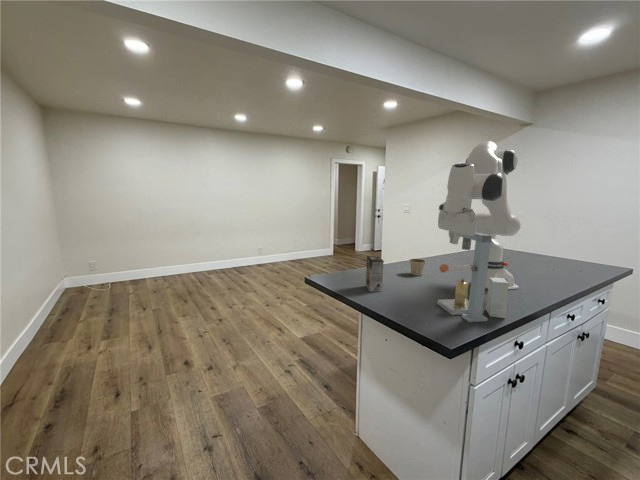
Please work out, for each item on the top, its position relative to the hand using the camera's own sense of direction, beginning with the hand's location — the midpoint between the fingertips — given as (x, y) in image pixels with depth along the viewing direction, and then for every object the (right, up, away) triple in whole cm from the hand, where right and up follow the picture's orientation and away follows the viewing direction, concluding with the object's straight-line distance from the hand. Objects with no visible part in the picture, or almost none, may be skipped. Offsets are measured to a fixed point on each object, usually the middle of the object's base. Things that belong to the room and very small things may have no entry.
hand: (453, 243), depth 114 cm
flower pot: (+7, -20, +66) cm, 70 cm away
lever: (+2, -11, +1) cm, 11 cm away
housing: (+9, -26, +15) cm, 32 cm away
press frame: (+10, -29, +10) cm, 33 cm away
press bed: (+9, -28, +15) cm, 33 cm away
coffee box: (-24, -24, +39) cm, 51 cm away
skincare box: (+22, -30, +11) cm, 38 cm away
